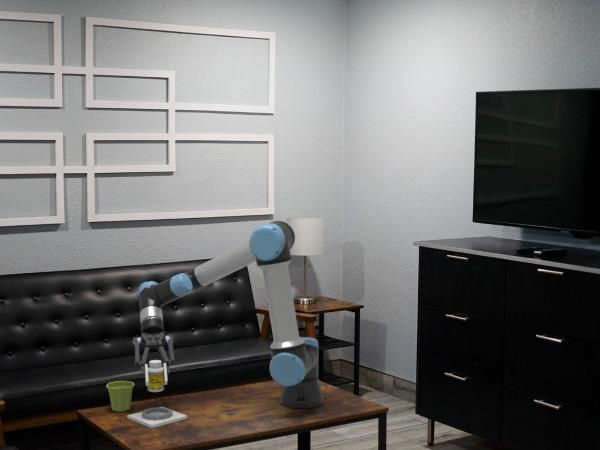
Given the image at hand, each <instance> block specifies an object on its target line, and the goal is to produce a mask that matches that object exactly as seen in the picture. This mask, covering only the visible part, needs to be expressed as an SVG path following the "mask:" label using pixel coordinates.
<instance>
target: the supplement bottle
mask: <svg viewBox="0 0 600 450" xmlns="http://www.w3.org/2000/svg"><path fill="white" fill-rule="evenodd" d="M148 365H149V367H148V380H149V383H148V386H147V391H148V392H152V393H158V392H162V391H163V390H165V383H164V369H163V365H162V360H159V359H152V360H150V361H149V362H148Z"/></svg>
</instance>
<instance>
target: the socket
mask: <svg viewBox="0 0 600 450" xmlns="http://www.w3.org/2000/svg"><path fill="white" fill-rule="evenodd" d="M126 417H127V418H126V419H128V420H131V421H133V422H136V423H138V424H141V425H143V426H146V427H148V428H151V429H154V428H158V427H161V426H165V425H169V424H172V423H176V422H180V421H183V420H187V419H188V415H186V414H184V413H181V412H178V411H175V410H173V409H171V408H168V407H165V406H159V407H150V408H146V409H144V410H143V411H140V412H136V413H135V412H134V413H132V414H128V415H126Z"/></svg>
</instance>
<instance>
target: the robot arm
mask: <svg viewBox="0 0 600 450" xmlns="http://www.w3.org/2000/svg"><path fill="white" fill-rule="evenodd" d="M295 243H296V234H295V231H294V229H293V227H292V225H290V224H289V223H287V222H285V221H282V220H274V221H271V222H266V223H261V224H260V225H259V226H257V227H256V228H255V229H254V230H253V231H252V232H251V234H250V237H249V240H247V241H246V242H243V243H242V244H240V245H238V246H236V247H234V248H233V247H232V248H231V249H229V250H227V251H226V252H224V253H222V254H220V255H218V256H216V257H213V258H211V259H210V260H207V261H206V262H203V263H202V264H199V265H197V266H196V267H194V268H192V269H190V270H188V271H186V272H182V273H178V274H176V275H174V276H172V277H170V278H168V279H166V280H163V281H162V282H160V283H158V282H156V281H155V280H154V281H153V280H151V281H150V280H149V281H144V282H142V283H141V284H140V285H139V288H138V302H139V317H140V318H139V319H140V330H141V332H140V333H141V335H140V337H135V336H134V337H133V338H132V343H133V346H134V365H135V367H136V368H137V367H140V370H141V376H143V377H144V378H145V379H144V380H145V386H146V387H148V383H149V380H148V368H149V367H148V363H147V359H148V354H149V350H150V349H152V348H153V349H154V348H155V349H157V350H158V351H159V354H160V356H161V359H162V361H163V365H162V367H163V369H164V386H165V385H168V375H170V374H171V373H170V372H171V367H170V366H172V365H173V366H174V365H175V352H174V345H173V343H174V336H173V335H170V336H167V335H166V334H165V329H164V318H163V306H165V305H168V304H169V303H172V302H174V301H176V300H178V299H180V298H183V297H185V296H187V295H189V294H193V293H195V292H198V291H199V290H200V289H203V288H204V287H205V286H208V285H210V284H213V283H214V282H216V281H218V280H221V279H222V278H225V277H226V276H229V275H231V274H233V273H234V272H236V271H239V270H241V269H243V268H245V267H247V266H249V265H251V264H253V263H255V262H256V267H258V269H260V270H261V271H262V277H263V283H264V289H265V295H266V300H267V307H268V313H269V319H270V320H269V321H270V324H271V331H272V332H271V333H272V338H273V341H272V343H271V345H270V346H269V347H270V348H269V349H270V353H271V359H270V362H269V373H270V376H271V377H272V380H273V381H275V382H276V383H277V384H279V385H281V386H282V390H281V393H280V395H279V403H280V404H281V405H282V406H284V407H287V408H290V409H311V408H317V407H319V406H322V405H323V404H324V395H323V393H322V389H321V386H320V382H319V349H320V348H319V347H320V346H319V342H318V339H316V338H314V337H307V336H300V333H299V326H298V321H297V315H296V308H295V303H294V296H293V292H292V291H293V290H292V283H291V277H290V272H289V266H290V263H291V262H292V254H291V250H292V248H293V247H294V244H295ZM165 341H166V343H167V345H168V347H167V348H168V354H169V355H167V352H166V349H165V348H164V344H163V343H164V342H165ZM141 343H143V344H144V351H143V355H142V359H141V360H140V344H141ZM168 356H169V358H168Z"/></svg>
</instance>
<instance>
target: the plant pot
mask: <svg viewBox="0 0 600 450" xmlns="http://www.w3.org/2000/svg"><path fill="white" fill-rule="evenodd" d="M134 386H135V383H134V382H133V381H130V380H129V381H128V380H118V381H112V382H108V383H107V384H106V388H107V391H108V395H109V400H110V404H111V405H110V406H111V410H112V411H113V412H114V411H115V412H116V413H117V412H118V413H119V412H120V413H121V412H126V411H127V410H128V411H129V410H131V405H132V402H131V401H132V394H133V389H134Z"/></svg>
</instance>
